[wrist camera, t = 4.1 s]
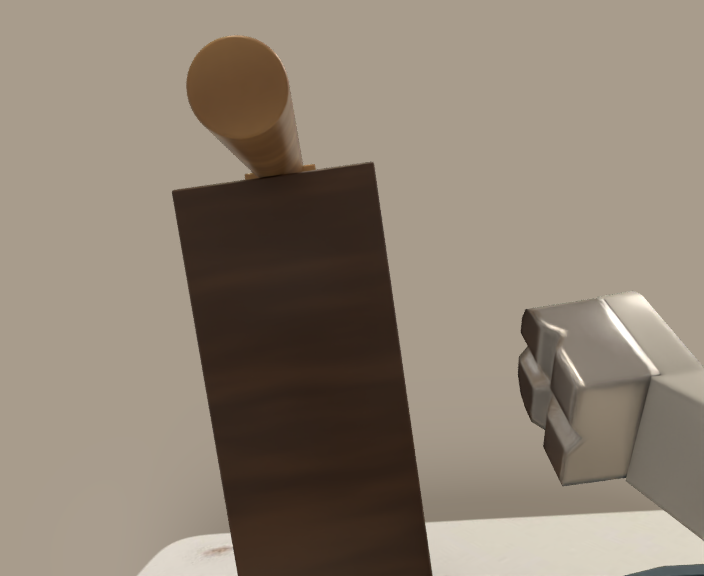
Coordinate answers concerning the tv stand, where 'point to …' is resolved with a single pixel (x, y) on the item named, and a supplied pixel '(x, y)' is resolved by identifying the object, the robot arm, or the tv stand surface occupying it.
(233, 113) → the wooden dowel
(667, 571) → the bowl
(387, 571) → the tall wooden pillar
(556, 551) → the tv stand surface
